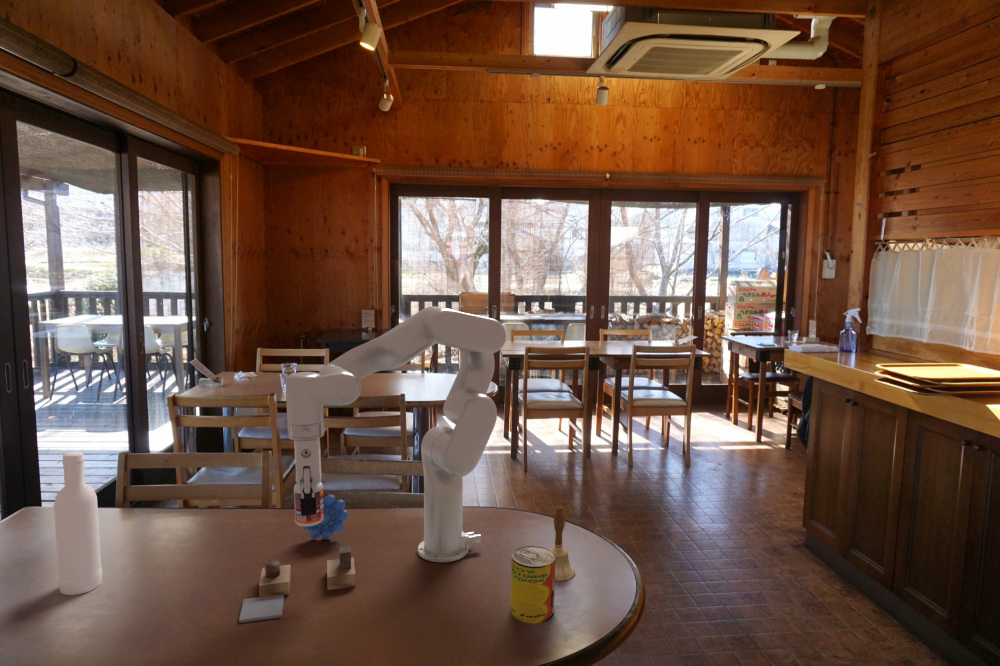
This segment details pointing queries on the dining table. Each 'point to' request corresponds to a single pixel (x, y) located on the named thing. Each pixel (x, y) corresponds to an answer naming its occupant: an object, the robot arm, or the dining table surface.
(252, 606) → the coaster
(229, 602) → the dining table surface
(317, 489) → the pill bottle
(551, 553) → the beverage can
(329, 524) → the blue flower
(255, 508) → the dining table surface
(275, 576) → the wooden knob block
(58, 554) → the bottle
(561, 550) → the hand bell
